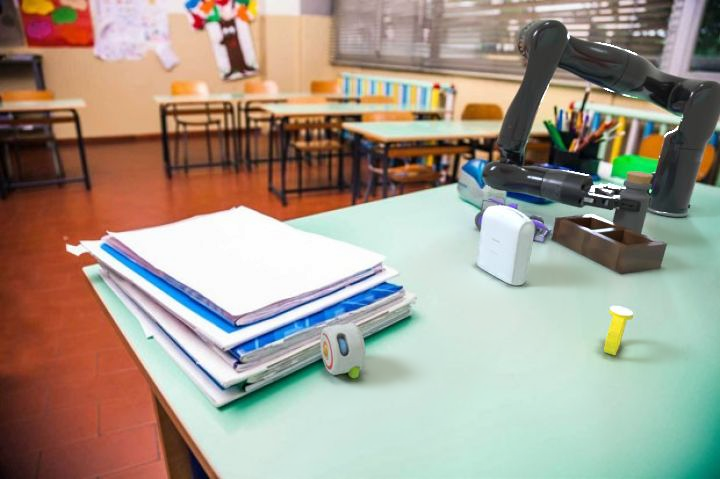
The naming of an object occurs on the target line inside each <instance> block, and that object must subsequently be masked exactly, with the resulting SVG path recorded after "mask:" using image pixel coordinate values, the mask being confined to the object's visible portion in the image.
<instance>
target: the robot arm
mask: <svg viewBox="0 0 720 479" xmlns="http://www.w3.org/2000/svg"><path fill="white" fill-rule="evenodd" d="M516 36H517V37H516V42H515V44H516V48H517V51H518V53H519V55H520V56H521V57H522V58H524V60H526V61H527V62H526V66H525V72H524V74H523V78H522V80H521V83H520V85H519V88H518V89H517V91H516V92H515V95H514V96H513V98H512V100H511V102H510V104H509V106H508V107H507V109H506V111H505V114H504V117H503V120H502V123H501V125H500V129H499V133H498V136H497V139H496V140H497V141H496V145H497V147H498V149H499V150H500V154H499V159H498V160H492V161H490V162H489V163H488V162H487V164H486V165H485V166H484V167H483V169H482V172H481V177H482V180H483V183H484V184H485V185H486V186H487V185H488V186H487V187H489V186H490V187H491V188H490V187H489V188H490V189H493V190H495V191H503V192H509V193H519V194H524V195H529V196H532V197H535V198H541V199H543V200H544V199H545V200H547V201H550V202H554V203H558V204H562V205H566V206H570V207H574V208H578V209H582V208H584V207H586V206H587V207H593V208H598V209H604V210H608V211H614V210H615V209H625V210H629V211H634V212H639V211H641V208H642V202H641V201H637V200H632V199H627V198H622V197H620V196H619V193H620V192H621V191H623V190H625V189H626V187H625V186H624V187H623V186H620V185H616V184H611V183H606V184H602V183H600V184H599V185H595V184H594V179H593V176H592V175H590V174H585V173H580V172H575V171H569V170H564V169H554V168H549V167H548V168H547V167H542V166H537V165H527V166H525V157H526V148H527V145H528V142H529V139H530V135H531V132H532V130H533V126H534V123H535V119H536V116H537V114H538V112H539V109H540V106H541V103H542V101H543V99H544V96H545V94H546V92H547V90H548V88H549V85H550V84H551V81H552V80H553V77H554V74H555V73H556V71H557V69H561V70H564V71H565V72H568V73H570V74H572V75H574V76H576V77H578V78H580V79H582V80H584V81H587V82H588V83H591V84H593V85H595V86H597V87H599V88H603V89H605V90H607V91H610V92H613V93H616V94H618V95H622V96H625V97H629V98H634V99H638V100H643V101H646V102H648V103H651V104H653V105H655V106H657V107H659V108H660V109H662V110H664V111H666V112H668V113H670V114H671V115H673V116H676V117H680V120H679V124H678V126H677V127H676V128H675V129H674V130H672V131H669V132H667V133H665V134H664V137H663V140H662V145H661V148H660V152H659V155H658V160H657V163H656V166H655V167H656V168H655V172H651V173H650V174H651V175H653V177H652V179H651V181H650V183H651V184H652V186H651V189H649V190H647V194H649V196H650V201H649V205H648V209H647V212H650V213H653V214H655V215H658V216H659V215H660V216H663V217H671V218H684V217H687V215H688V211H689V210H690V209H691V206H692V205H691V201H692V197H693V194H694V190H695V186H696V182H697V179H698V175H699V172H700V168H701V165H702V162H703V159H704V155H705V150H706V147H707V144H708V143H709V141H710V140H711V139H712V137H713V136H714V133H715V131H716V128H717V127H718V122H719V120H720V82H719V81H716V80H713V79H712V80H711V79H700V78H690V77H689V78H688V77H681V76H678V75H674V74H670V73H667V72H664V71H662V70H660V69H659V68H658V67H656V66H655V65H654V64H653V63H652V62H651V61H649V59H647V58H646V57H643V56H642V55H639V54H637V53H635V52H632V51H630V50H627V49H624V48H622V47H618V46H614V45H611V44H607V43H601V42H597V41H591V40H585V39H581V38H578V37H575V36H573V35H572V34H570V33H569V30H568V28H567V26H566V25H565V24H564V23H563V22H562V21H560V20H557V19H536V20H533V21H530V22H529V23H526V24H525V25H524V26H523V27H522V28H521V29H520V30H519V31H518V34H517V35H516Z"/></svg>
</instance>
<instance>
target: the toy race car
mask: <svg viewBox="0 0 720 479" xmlns="http://www.w3.org/2000/svg"><path fill="white" fill-rule="evenodd" d="M496 205H502V206H508V207H511V208H514V209H516V210H518V204H517V203H513V202H512V203H509V204H507V205H506V199H505V198H504V197H500V196H495V195H489V196H488V199H487V200H486V199H482V203H481V210H480V211H479V212H478V213H477V214H476V215H475V217H474V224H475V227H476V228H477V229H478V230H479V231H481V224H482V217H483V214H484V211H485V210H486V209H487V208H488V207H490V206H496ZM528 218H529V219H530V220H531V221H532V222H533V223H534V226H535V232H534V238H533V241H536V242H541V243H544V241H545V238H546V236H547V235H550V234H551V233H552V229H550V228H548V227H547V226H546V225H545V220H544V218H543V217H542V216H541V215H539V214H532V215H530V216H529V217H528ZM540 231H541V233H540V235H539V234H537V233H538V232H540Z"/></svg>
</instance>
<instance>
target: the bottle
mask: <svg viewBox="0 0 720 479" xmlns="http://www.w3.org/2000/svg"><path fill="white" fill-rule="evenodd" d="M651 174H652V173H648V172H645V171H634V170H633V171H631V170H630V171H627V172H626V179H624V181H623V186H624V187H625V188H626V189H625V190H623V191H621V192H620V193H619V196H620V197H622V198H627V199H632V200H637V201H641V202H642V208H641V211H639V212H634V211H629V210H625V209H614V213H613V219H612V222H613V223H616V224H618V225H621V226H623V227H626V228H628V229H631V230H633V231H636V232H638V233H641V234H643V233H642V232H643V228H644V224H645V220H646V217H647V213H648V210H647V209H648V205H649V201H650V196H649V194H647V190H649V189H651V186H652V184H651V183H650V181H651V179H652V177H653V175H651Z"/></svg>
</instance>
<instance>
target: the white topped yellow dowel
mask: <svg viewBox="0 0 720 479" xmlns="http://www.w3.org/2000/svg"><path fill="white" fill-rule="evenodd" d="M608 310H609V311H608V314H609V315H610V316H612V318H611V322H610V324H609V328H608V330H607V334H606V338H605V342H604V347H603V352H604V353H606V354H609V355H612V356H616V354H617V352H618V350H619V348H620V345H621V342H622V339H623V335H624V332H625V328H626V324H627V321H630V320H632V319H633V317H634V312H633V311H632V310H631V309H629V308H627V307H624V306H621V305H612V306H609V309H608Z"/></svg>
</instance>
